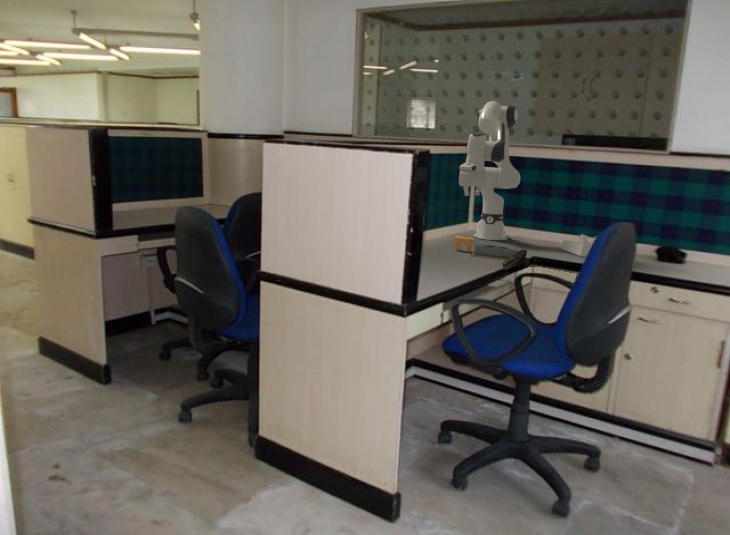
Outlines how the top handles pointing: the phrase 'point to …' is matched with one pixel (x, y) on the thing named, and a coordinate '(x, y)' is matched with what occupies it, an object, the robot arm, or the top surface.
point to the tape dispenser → (577, 246)
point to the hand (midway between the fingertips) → (471, 195)
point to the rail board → (494, 251)
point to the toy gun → (516, 260)
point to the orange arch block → (463, 242)
